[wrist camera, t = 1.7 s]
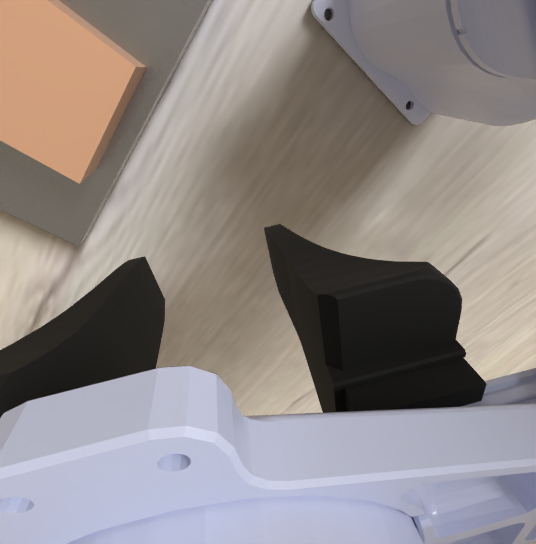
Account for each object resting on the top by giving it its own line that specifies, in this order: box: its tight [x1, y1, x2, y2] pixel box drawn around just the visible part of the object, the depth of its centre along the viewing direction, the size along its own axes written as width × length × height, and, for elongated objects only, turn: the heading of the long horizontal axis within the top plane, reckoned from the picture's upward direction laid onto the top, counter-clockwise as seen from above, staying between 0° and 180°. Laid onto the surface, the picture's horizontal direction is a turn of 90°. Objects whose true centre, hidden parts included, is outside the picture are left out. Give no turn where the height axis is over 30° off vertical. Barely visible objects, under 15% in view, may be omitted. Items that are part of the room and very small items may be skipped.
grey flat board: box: [0, 0, 212, 246], centre depth 15 cm, size 10×16×2 cm, turn 143°
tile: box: [0, 0, 146, 184], centre depth 14 cm, size 6×6×2 cm
